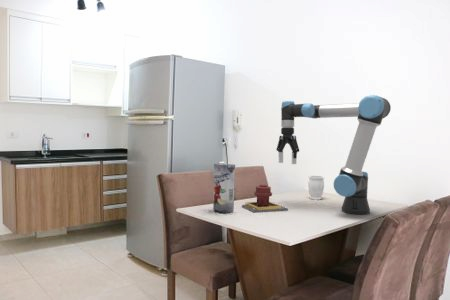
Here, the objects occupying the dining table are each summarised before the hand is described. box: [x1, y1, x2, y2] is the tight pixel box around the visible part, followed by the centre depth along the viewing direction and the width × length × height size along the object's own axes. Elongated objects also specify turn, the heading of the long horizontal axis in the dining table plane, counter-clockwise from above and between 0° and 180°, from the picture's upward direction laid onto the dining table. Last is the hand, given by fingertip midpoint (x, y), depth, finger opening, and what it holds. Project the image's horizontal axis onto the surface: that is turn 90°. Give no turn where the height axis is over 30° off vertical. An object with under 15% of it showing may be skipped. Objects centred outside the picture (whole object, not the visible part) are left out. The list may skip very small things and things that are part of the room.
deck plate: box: [241, 201, 289, 213], centre depth 211 cm, size 16×21×3 cm
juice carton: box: [212, 161, 236, 214], centre depth 200 cm, size 9×10×27 cm
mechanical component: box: [253, 184, 273, 207], centre depth 210 cm, size 12×10×10 cm
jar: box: [307, 175, 325, 201], centre depth 250 cm, size 11×10×15 cm
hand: (287, 163), depth 220 cm, fingers open, 13 cm apart
